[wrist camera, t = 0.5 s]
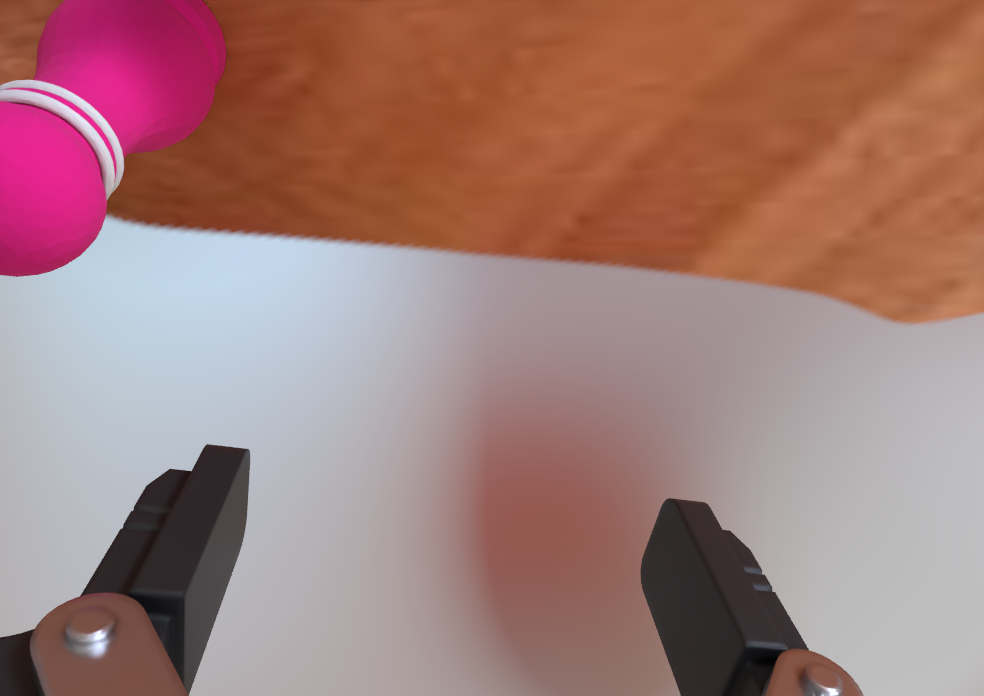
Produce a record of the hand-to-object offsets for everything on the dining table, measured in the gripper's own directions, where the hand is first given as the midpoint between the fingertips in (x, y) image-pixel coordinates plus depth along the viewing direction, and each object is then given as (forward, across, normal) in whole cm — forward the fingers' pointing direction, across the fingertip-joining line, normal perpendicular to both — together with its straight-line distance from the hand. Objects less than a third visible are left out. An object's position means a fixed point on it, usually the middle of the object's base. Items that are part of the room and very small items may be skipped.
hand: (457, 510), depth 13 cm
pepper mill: (+30, +15, -4) cm, 34 cm away
